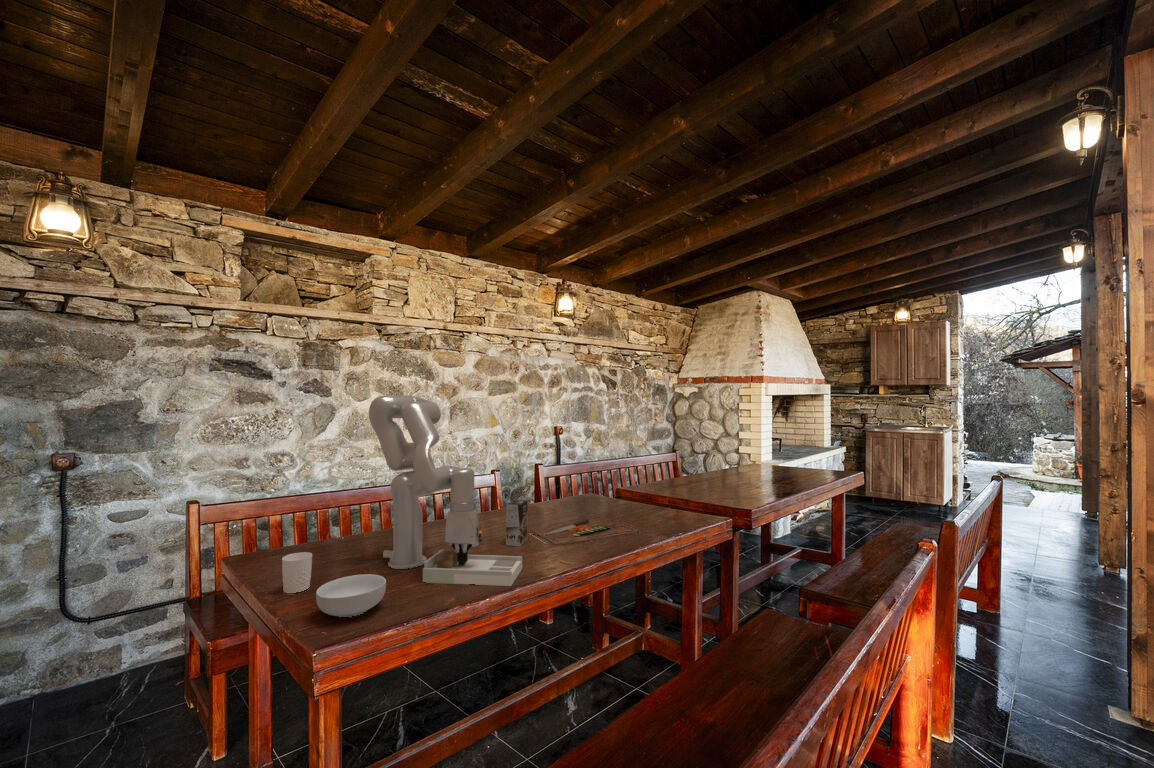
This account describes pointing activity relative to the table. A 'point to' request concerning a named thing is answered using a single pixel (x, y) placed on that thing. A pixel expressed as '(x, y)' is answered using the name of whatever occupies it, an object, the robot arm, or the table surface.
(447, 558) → the walnut block
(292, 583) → the white cup
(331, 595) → the cereal bowl
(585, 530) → the chopping board
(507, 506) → the coffee box
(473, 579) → the tray
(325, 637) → the table surface
